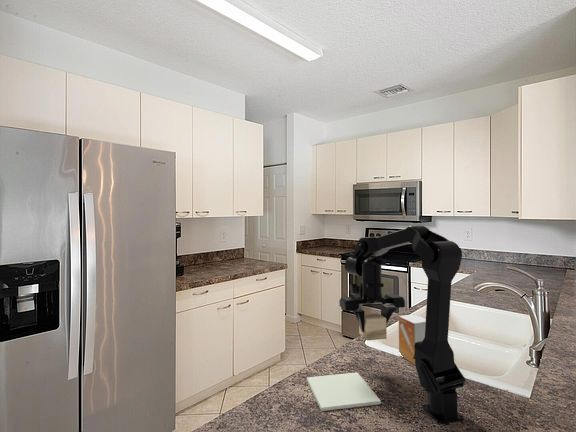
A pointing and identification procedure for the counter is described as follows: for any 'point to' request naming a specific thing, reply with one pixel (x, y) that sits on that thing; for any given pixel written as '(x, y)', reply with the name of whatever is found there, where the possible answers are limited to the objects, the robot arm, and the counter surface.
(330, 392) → the sage mat
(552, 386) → the counter surface
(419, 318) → the small box
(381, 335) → the maple cube
